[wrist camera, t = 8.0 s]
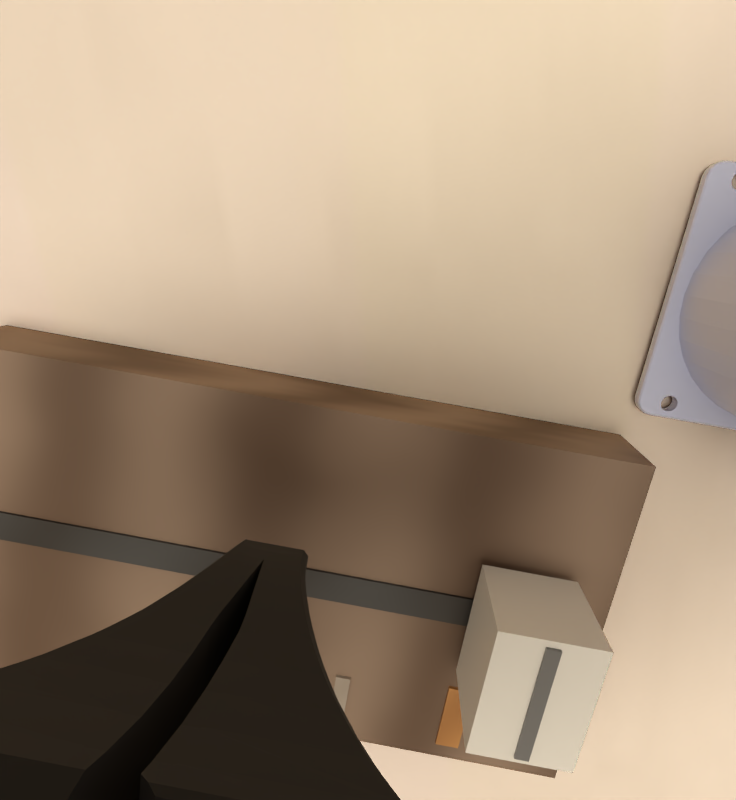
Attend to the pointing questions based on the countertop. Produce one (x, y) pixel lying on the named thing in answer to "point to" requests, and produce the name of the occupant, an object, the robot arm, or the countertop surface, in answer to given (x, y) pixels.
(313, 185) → the countertop surface
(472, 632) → the fader tab
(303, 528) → the fader console
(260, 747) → the robot arm
